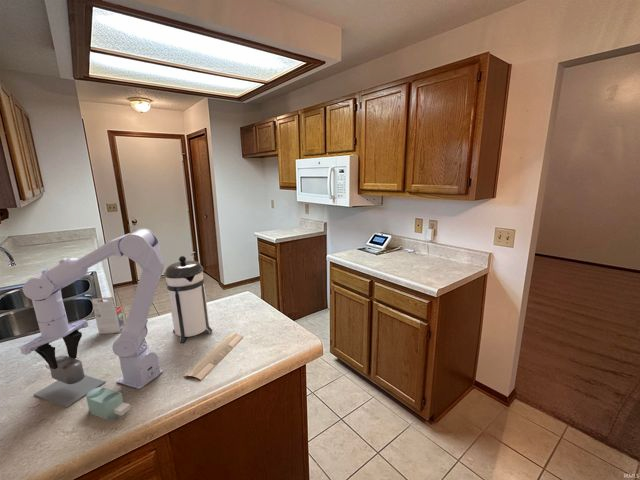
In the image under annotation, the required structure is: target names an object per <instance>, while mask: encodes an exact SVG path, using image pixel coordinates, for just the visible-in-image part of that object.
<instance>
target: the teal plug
mask: <svg viewBox="0 0 640 480" xmlns="http://www.w3.org/2000/svg"><path fill="white" fill-rule="evenodd" d="M85 399H86V403H87V407H88V410H89V413H90V414H92V415H94V416H98V417H100V418H102V419H105V420H108V421H113V420H115V419H118V418H119V417H122V416H123V415H125V414H126V413H127V412H128V411H130V410H131V404H130V403H127V402H124V399H123V395H122V393H121V392H119V391H116V390H113V389H111V388H106V387H104V386H99V387H98V388H95V389H93V390H91V391H89V392H88V393H87V395H86V396H85Z"/></svg>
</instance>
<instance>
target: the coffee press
mask: <svg viewBox="0 0 640 480" xmlns="http://www.w3.org/2000/svg"><path fill="white" fill-rule="evenodd" d="M163 276H164V278H165V280H166V283H165V285H166V290H167V293H168V300H169V305H170V312H171V313H170V314H171V318H172V323H173V330H172V333H173V334H175V335H177V336H179V337H180V339H179V343H180V344H185V343H186V341H187V339H188V337H194V336H197V335H200V334H202V333H203V332H205V333H206V334H207V335H211V334H212V333H213V328H211V327H210V321H209V313H208V312H209V311H208V304H207V297H206V296H207V295H206V289H205V276H204V266H202V265H201V263H200V262H199V261H196V260H187V258H186V257H185V255H181V256H179V258H178V261H177V262H174V263H171V264H170V265H168V266H167V267H166V268H165V270H164V272H163Z"/></svg>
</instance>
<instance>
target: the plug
mask: <svg viewBox="0 0 640 480" xmlns="http://www.w3.org/2000/svg"><path fill="white" fill-rule="evenodd" d="M55 358H56V361H57V365H58V368H56V369H52V368H50V366H49V365H48V363H47V362H46V363H44V367H45V368H46V369H48V370H49V371H50V374H51V378H52V379H54V380H56V381H61V382H64V383H66V384H74V383H77V382H79V381H81V380H82V379H83V378H84V377H85V375H86V374H85V372H84V371H85V370H84V367H83V363H82V360H80V359H77V358H75V359H74V358H71V357H69V355H58V356H55Z"/></svg>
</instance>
